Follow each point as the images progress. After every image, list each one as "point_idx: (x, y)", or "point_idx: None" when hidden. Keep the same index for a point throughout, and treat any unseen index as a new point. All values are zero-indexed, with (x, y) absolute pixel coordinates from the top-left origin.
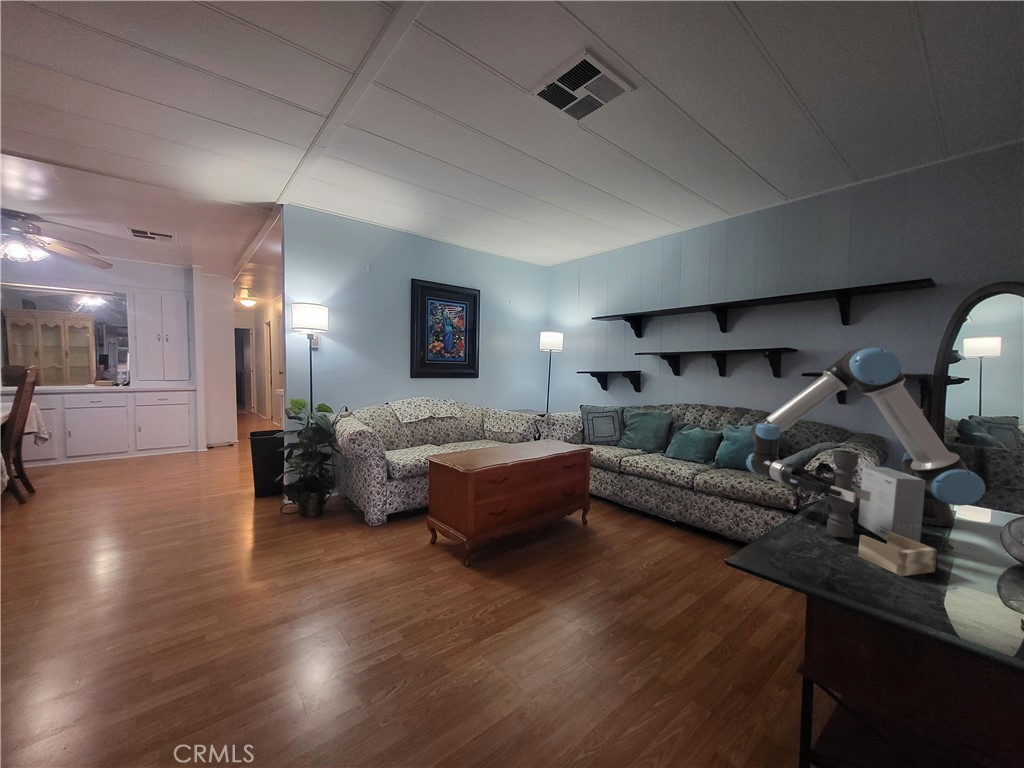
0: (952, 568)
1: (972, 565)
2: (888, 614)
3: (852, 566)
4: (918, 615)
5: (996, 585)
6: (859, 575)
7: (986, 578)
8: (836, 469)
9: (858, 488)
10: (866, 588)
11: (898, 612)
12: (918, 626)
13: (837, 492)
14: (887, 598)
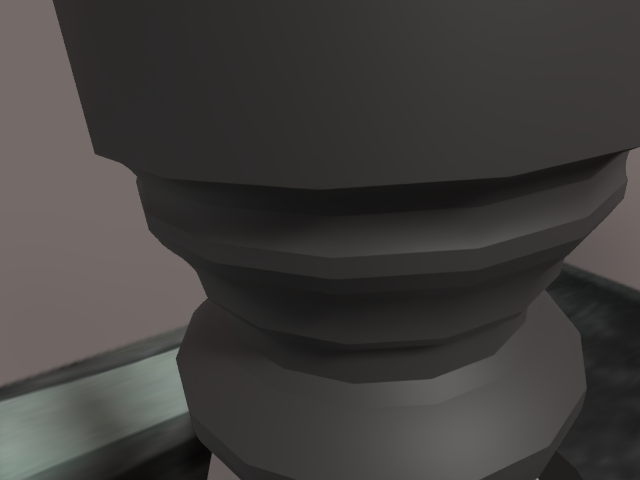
0: (148, 425)
1: (33, 436)
2: (624, 289)
3: (573, 464)
4: (548, 286)
5: (169, 350)
6: (587, 410)
7: (136, 375)
8: (534, 328)
9: (215, 457)
10: (613, 356)
11: (591, 292)
12: (580, 268)
13: (563, 468)
14: (579, 324)
